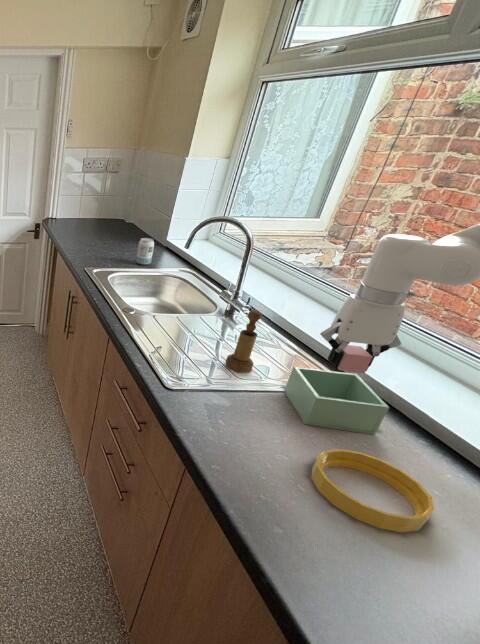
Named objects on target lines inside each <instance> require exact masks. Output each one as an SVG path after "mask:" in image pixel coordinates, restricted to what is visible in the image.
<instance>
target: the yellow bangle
mask: <svg viewBox="0 0 480 644" xmlns="http://www.w3.org/2000/svg"><path fill="white" fill-rule="evenodd" d="M334 467H343V468H349V469H355V470H357V471H360V472H364V473H366V474H369V475H371V476H374V477H376V478H377V479H379V480H381V481H383V482H385V483H386V484H388V485H390V486H391V487H393V488H394V489H395V490H396V491H398V492H399V493H400V494H401V495H403V496H404V498H405V499H406V500H407V501H408V503H409V504H410V505H411V506H412V508H413V513H414V514H413V515H410V516H406V515H402V514H401V515H400V514H396V513H390V512H386V511H383V510H380V509H378V508H376V507H373V506H370V505H367V504H365V503H363V502H361V501H360V500H358V499H356V498H354V497H353V496H352V495H349V494H347V493H346V492H344V491H342V489H340V488H339V487H338V486H337V485H336V484H334V482H332V481H331V480H330V479H329V478H328V476H327V474H326V473H325V471H324V470H326V469H327V468H334ZM310 478H311V480H312V482H313V485H314V486H315V487H316V489H317V491H318V492H319V493H320V494H321V495H322V496H323V497H324V498H325V499H327V500H328V501H329V502H330V503H331V504H332V506H335V507H336V508H337V509H339V510H341V511H342V512H344V513H346V514H347V515H349V516H350V517H352V518H354V519H356V520H358V521H361V522H362V523H366V524H368V525H371V526H373V527H375V528H378V529H383V530H387V531H393V532H397V533H407V532H408V533H409V532H418V531H419V530H420V529H421V528H422V527H423V526H424V525H425V524H426V523H427V522H428V520H429V518H430V517H431V515H432V514H433V513H434V511H435V506H434V501H433V497H432V495H431V494H430V493H429V492H428V491H427V489H425V487H423V485H422V484H421V483H420V482H419V481H417V480H416V479H415V478H414V477H412V476H410V475H409V474H407V473H406V471H404V470H402V469H401V468H399V467H396V466H395V465H393V464H391V463H389V462H387V461H386V460H383V459H381V458H377V457H376V456H375V457H374V456H372V455H368V454H366V453H363V452H360V451H354V450H348V449H343V448H342V449H341V448H337V449H328V450H325V451H324V452H322V453H320V454H319V455H318V456H317V457H316V459H315V462H314V464H313V465H312V468H311V477H310Z"/></svg>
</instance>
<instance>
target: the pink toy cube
mask: <svg viewBox="0 0 480 644" xmlns="http://www.w3.org/2000/svg"><path fill="white" fill-rule="evenodd" d="M342 352H343V353H344V355H343V357H342V359H341V361H340V364H339V366H338V367H337V368H336V369H338V371H340V372H348V373H356V374H357V373H358V374H365V373H366V372H367V371H366V369H367V367H368V365H369V363H370V361H371V359H372V356H371V355H370V354H369V353H368V352H367V351H366V348H364V347H362V345H353V344H348V345H347V346H346V348H345V349H344V350H343V351H342ZM368 368H369V367H368ZM367 370H368V369H367Z"/></svg>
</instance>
